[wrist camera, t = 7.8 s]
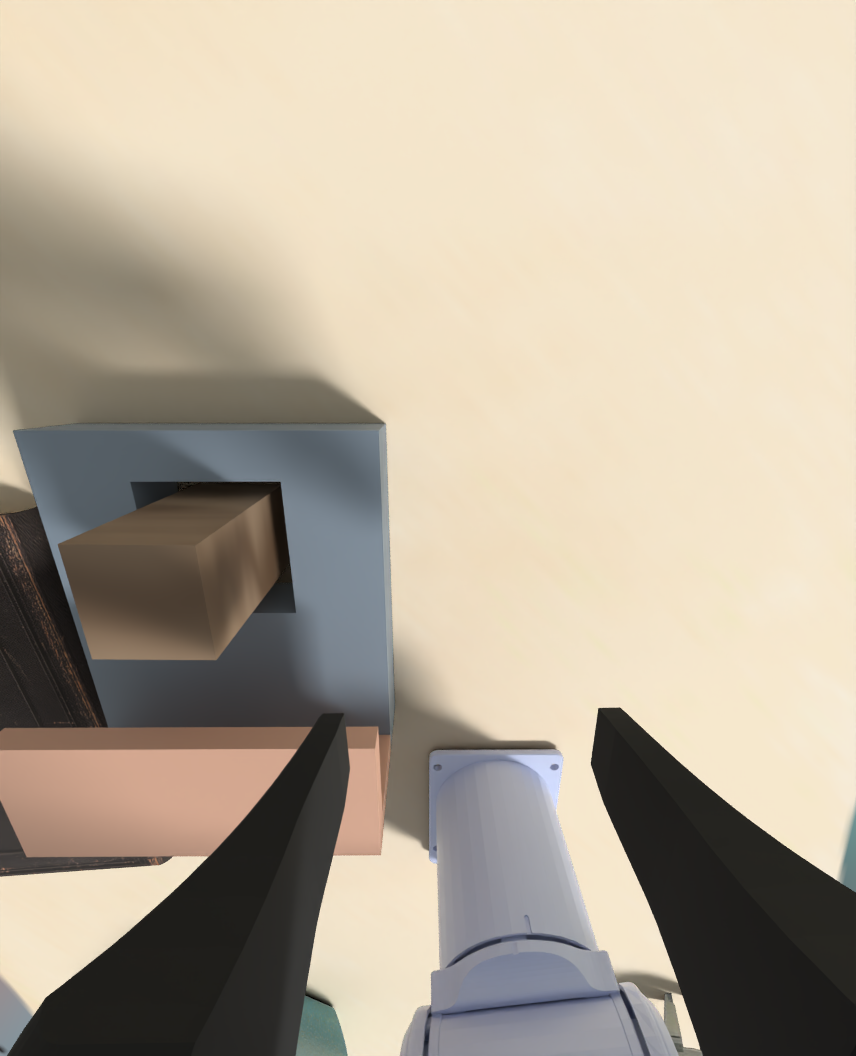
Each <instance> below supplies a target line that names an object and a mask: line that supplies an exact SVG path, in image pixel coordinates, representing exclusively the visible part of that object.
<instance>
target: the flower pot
mask: <svg viewBox="0 0 856 1056" xmlns="http://www.w3.org/2000/svg"><path fill="white" fill-rule="evenodd" d="M296 1056H347V1050H346V1045H345V1041H344V1037H343V1033H342V1030H341V1026H340V1023H339V1020H338V1017H337V1014H336V1012H335V1010H334V1008H332V1007H330V1006H328V1005H326V1004H323V1003H321V1002H319V1001H317V1000H314V999H312V998H310V997H308V996H305V998H304V1005H303V1011H302V1017H301V1024H300V1030H299V1037H298V1043H297V1050H296Z"/></svg>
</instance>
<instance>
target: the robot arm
mask: <svg viewBox="0 0 856 1056" xmlns="http://www.w3.org/2000/svg"><path fill="white" fill-rule="evenodd" d="M437 764H439V765H437ZM552 764H554V765H552ZM591 766H592V769H593V772H594V775H595V779H596V782H597V785H598V788H599V791H600V794H601V797H602V800H603V803H604V805H605V807H606V810H607V812H608V814H609V816H610V819H611V821H612V823H613V825H614V828H615V830H616V832H617V834H618V837H619V839H620V841H621V843H622V845H623V848H624V850H625V852H626V854H627V856H628V859H629V861H630V863H631V865H632V868H633V870H634V872H635V874H636V876H637V879H638V881H639V883H640V885H641V887H642V890H643V892H644V894H645V896H646V898H647V901H648V903H649V906H650V908H651V910H652V913H653V915H654V918H655V920H656V923H657V925H658V928H659V931H660V934H661V936H662V939H663V942H664V945H665V947H666V950H667V953H668V956H669V958H670V961H671V964H672V967H673V969H674V972H675V975H676V978H677V981H678V984H679V987H680V989H681V992H682V995H683V998H684V1001H685V1004H686V1007H687V1010H688V1013H689V1016H690V1018H691V1021H692V1024H693V1027H694V1030H695V1033H696V1036H697V1039H698V1042H699V1045H700V1048H701V1051H702V1054H703V1056H856V892H854V891H852V890H851V889H849V888H848V887H846V886H844V885H843V884H841V883H840V882H838V881H837V880H835V879H834V878H832V877H831V876H829V875H827V874H826V873H824V872H823V871H821V870H820V869H818V868H817V867H815V866H814V865H812V864H811V863H809V862H808V861H806V860H805V859H803V858H802V857H800V856H799V855H797V854H796V853H795V852H793V851H792V850H790V849H789V848H787V847H786V846H784V845H783V844H782V843H780V842H779V841H777V840H776V839H775V838H773V837H772V836H771V835H769V834H768V833H767V832H765V831H764V830H762V829H761V828H760V827H758V826H757V825H756V824H754V823H753V822H752V821H750V820H749V819H748V818H746V817H745V816H744V815H742V814H741V813H740V812H738V811H737V810H736V809H735V808H733V807H732V806H731V805H730V804H728V803H727V802H726V801H725V800H723V799H722V798H721V797H720V796H719V795H717V794H716V793H715V792H714V791H712V790H711V789H710V788H709V787H708V786H706V785H705V784H704V783H703V782H702V781H700V780H699V779H698V778H697V777H696V776H695V775H693V774H692V773H691V772H690V771H689V770H688V769H687V768H685V767H684V766H683V765H682V764H681V763H680V762H679V761H677V760H676V759H675V758H674V757H673V756H672V755H671V754H670V753H669V752H668V751H666V750H665V749H664V748H663V747H662V746H661V745H660V744H659V743H658V742H657V741H656V740H654V739H653V738H652V737H651V736H650V735H649V734H648V733H647V732H646V731H645V730H644V729H643V728H642V727H641V726H639V725H638V724H637V723H636V722H635V721H634V720H633V719H632V718H631V717H630V716H629V715H628V714H627V713H625V712H624V711H623V710H622V709H621V708H598V715H597V723H596V730H595V737H594V744H593V751H592V758H591ZM562 767H563V756H562V753H561V752H560V751H558V750H554V749H542V750H435V751H433V752H431V753H430V756H429V859H430V861H431V862H433V863H437V876H438V917H439V957H440V970H437V971H433V972H432V973H431V1005H426V1006H421V1007H419V1008H417V1010H416V1012H415V1014H414V1016H413V1019H412V1022H411V1024H410V1025H409V1027H408V1029H407V1031H406V1033H405V1035H404V1038H403V1042H402V1047H401V1052H400V1056H679V1055H678V1052H677V1050H676V1048H675V1045H674V1043H673V1041H672V1038H671V1036H670V1034H669V1031H668V1029H667V1027H666V1025H665V1023H664V1021H663V1019H662V1017H661V1015H660V1013H659V1012H658V1010H657V1008H656V1007H655V1006H654V1004H653V1003H652V1002H651V1001H650V1000H649V999H648V998H646V997H645V996H644V995H643V994H642V993H641V992H640V990H639V989H638V987H637V986H636V985H635V984H634V983H632V982H623V983H617V980H616V977H615V974H614V971H613V968H612V965H611V962H610V958H609V955H608V953H607V951H605V950H602V951H599V949H598V946H597V943H596V940H595V936H594V933H593V930H592V926H591V923H590V920H589V917H588V913H587V910H586V907H585V904H584V900H583V897H582V894H581V891H580V887H579V884H578V881H577V877H576V874H575V871H574V868H573V864H572V861H571V858H570V855H569V851H568V848H567V845H566V842H565V838H564V835H563V832H562V828H561V825H560V822H559V819H558V815H557V812H556V809H557V802H558V795H559V788H560V781H561V774H562ZM349 773H350V762H349V753H348V743H347V734H346V725H345V715H344V713H323V714H322V715H321V716H320V717H319V718H318V720H317V721H316V723H315V724H314V726H313V727H312V729H311V731H310V732H309V734H308V735H307V737H306V738H305V740H304V741H303V742H302V744H301V745H300V747H299V748H298V750H297V751H296V753H295V754H294V755H293V757H292V758H291V759H290V761H289V762H288V764H287V765H286V766H285V768H284V769H283V770H282V772H281V773H280V774H279V776H278V777H277V778H276V780H275V781H274V782H273V784H272V785H271V786H270V787H269V789H268V790H267V791H266V792H265V794H264V795H263V796H262V797H261V798H260V800H259V801H258V802H257V803H256V805H255V806H254V807H253V808H252V810H251V811H250V812H249V813H248V814H247V816H246V817H245V818H244V819H243V820H242V821H241V822H240V824H239V825H238V826H237V827H236V828H235V829H234V830H233V831H232V833H231V834H230V835H229V836H228V837H227V838H226V839H225V840H224V841H223V842H222V843H221V844H220V846H219V847H218V848H217V849H216V850H215V851H214V852H213V853H212V854H211V855H210V856H209V857H208V858H207V859H206V860H205V861H204V862H203V863H202V864H201V865H200V866H199V867H198V868H197V869H196V870H195V871H194V872H193V873H192V874H191V875H190V876H189V877H188V878H187V879H186V880H185V881H184V882H183V883H182V884H181V885H180V886H179V887H178V888H176V889H175V890H174V891H173V892H172V893H171V894H170V895H169V896H168V897H167V898H166V899H165V900H163V901H162V902H161V903H160V904H159V905H158V906H157V907H156V908H154V909H153V910H152V911H151V912H150V913H149V914H148V915H147V916H145V917H144V918H143V919H142V920H141V921H140V922H139V923H138V924H136V925H135V926H134V927H133V928H132V929H131V930H130V931H129V932H127V933H126V934H125V935H124V936H123V937H121V938H120V939H119V940H118V941H117V942H116V943H114V944H113V945H112V946H111V947H110V948H108V949H107V950H106V951H104V952H103V953H102V954H101V955H99V956H98V957H97V958H96V959H94V960H93V961H92V962H91V963H89V964H88V965H87V966H86V967H84V968H83V969H82V970H81V971H79V972H78V973H77V974H76V975H74V976H73V977H72V978H71V979H69V980H68V981H67V982H66V983H64V984H63V985H62V986H60V987H59V988H58V989H57V990H55V991H54V992H53V993H51V994H50V995H49V996H47V997H46V998H45V1000H44V1001H43V1003H42V1004H41V1006H40V1007H39V1009H38V1010H37V1011H36V1013H35V1014H34V1016H33V1017H32V1019H31V1020H30V1021H29V1023H28V1024H27V1025H26V1027H25V1028H24V1030H23V1031H22V1033H21V1034H20V1036H19V1038H18V1039H17V1041H16V1042H15V1044H14V1045H13V1047H12V1049H11V1050H10V1052H9V1053H8V1055H7V1056H296V1050H297V1043H298V1037H299V1030H300V1024H301V1017H302V1011H303V1005H304V998H305V992H306V986H307V979H308V973H309V967H310V961H311V955H312V949H313V943H314V937H315V931H316V926H317V921H318V917H319V912H320V907H321V903H322V899H323V895H324V890H325V886H326V882H327V878H328V874H329V870H330V866H331V862H332V858H333V854H334V850H335V846H336V842H337V838H338V833H339V829H340V825H341V821H342V817H343V813H344V808H345V802H346V795H347V788H348V781H349Z"/></svg>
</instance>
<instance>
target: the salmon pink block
mask: <svg viewBox="0 0 856 1056" xmlns="http://www.w3.org/2000/svg"><path fill="white" fill-rule="evenodd" d="M311 729H312V727H145V728H4V729H3V730H1V731H0V801H1V803H2V805H3V807H4V809H5V812H6V814H7V816H8V818H9V820H10V822H11V824H12V827H13V829H14V831H15V833H16V835H17V837H18V839H19V842H20V844H21V846H22V848H23V850H24V852H25V855H26V857H144V856H210V855H211V854H212V853H213V852H214V851H215V850H216V849H217V848H218V847H219V846H220V844H221V843H222V842H223V841H224V840H225V839H226V838H227V837H228V836H229V835H230V834H231V833H232V831H233V830H234V829H235V828H236V827H237V826H238V825H239V824H240V822H241V821H242V820H243V819H244V818H245V817H246V816H247V814H248V813H249V812H250V811H251V810H252V808H253V807H254V806H255V805H256V803H257V802H258V801H259V800H260V798H261V797H262V796H263V795H264V794H265V792H266V791H267V790H268V789H269V787H270V786H271V785H272V784H273V782H274V781H275V780H276V778H277V777H278V776H279V774H280V773H281V772H282V770H283V769H284V768H285V766H286V765H287V764H288V762H289V761H290V759H291V758H292V757H293V755H294V754H295V753H296V751H297V750H298V748H299V747H300V745H301V744H302V742H303V741H304V740H305V738H306V737H307V735H308V734H309V732H310V731H311ZM346 734H347V743H348V753H349V762H350V773H349V781H348V788H347V795H346V802H345V808H344V813H343V817H342V821H341V825H340V829H339V833H338V838H337V842H336V846H335V850H334V854H333V855H381V848H382V838H383V827H384V817H385V806H386V795H387V785H388V774H389V764H390V753H391V742H390V735H379V734H378V727H346Z"/></svg>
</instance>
